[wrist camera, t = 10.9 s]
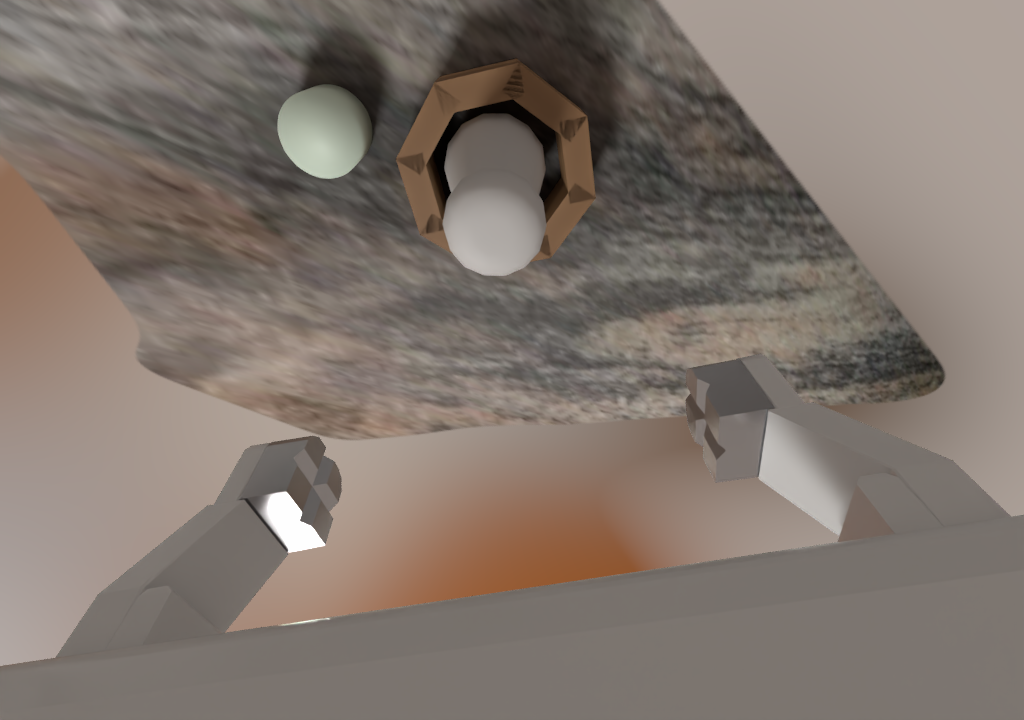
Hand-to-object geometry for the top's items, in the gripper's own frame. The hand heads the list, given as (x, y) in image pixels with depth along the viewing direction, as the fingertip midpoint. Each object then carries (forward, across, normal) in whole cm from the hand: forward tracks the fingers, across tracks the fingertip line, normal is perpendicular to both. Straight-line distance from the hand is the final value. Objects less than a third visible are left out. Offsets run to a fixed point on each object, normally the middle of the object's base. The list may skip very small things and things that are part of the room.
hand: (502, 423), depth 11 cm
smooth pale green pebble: (+24, +9, -4) cm, 26 cm away
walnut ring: (+24, 0, 0) cm, 24 cm away
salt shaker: (+24, 0, 0) cm, 24 cm away
